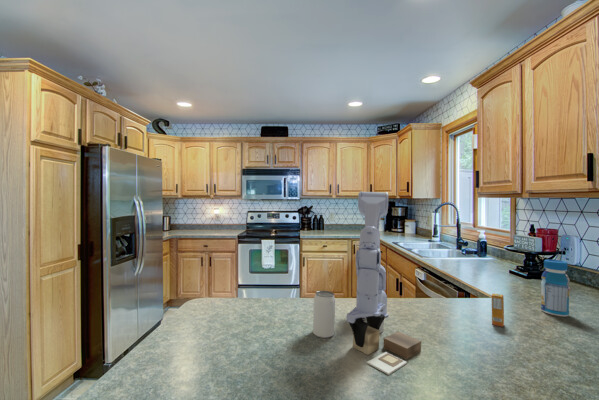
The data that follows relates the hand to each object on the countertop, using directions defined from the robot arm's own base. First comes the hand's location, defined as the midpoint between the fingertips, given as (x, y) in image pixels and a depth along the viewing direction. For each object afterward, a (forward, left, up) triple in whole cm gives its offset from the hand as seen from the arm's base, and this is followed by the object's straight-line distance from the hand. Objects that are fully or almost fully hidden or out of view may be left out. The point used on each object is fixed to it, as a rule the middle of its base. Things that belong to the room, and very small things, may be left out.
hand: (365, 342), depth 78 cm
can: (+3, -13, -2) cm, 14 cm away
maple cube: (0, 0, -1) cm, 1 cm away
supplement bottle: (-82, +27, -2) cm, 86 cm away
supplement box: (-50, +17, -2) cm, 53 cm away
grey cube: (-11, -5, -2) cm, 12 cm away
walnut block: (-8, +6, -2) cm, 10 cm away
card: (+2, +8, -1) cm, 8 cm away
